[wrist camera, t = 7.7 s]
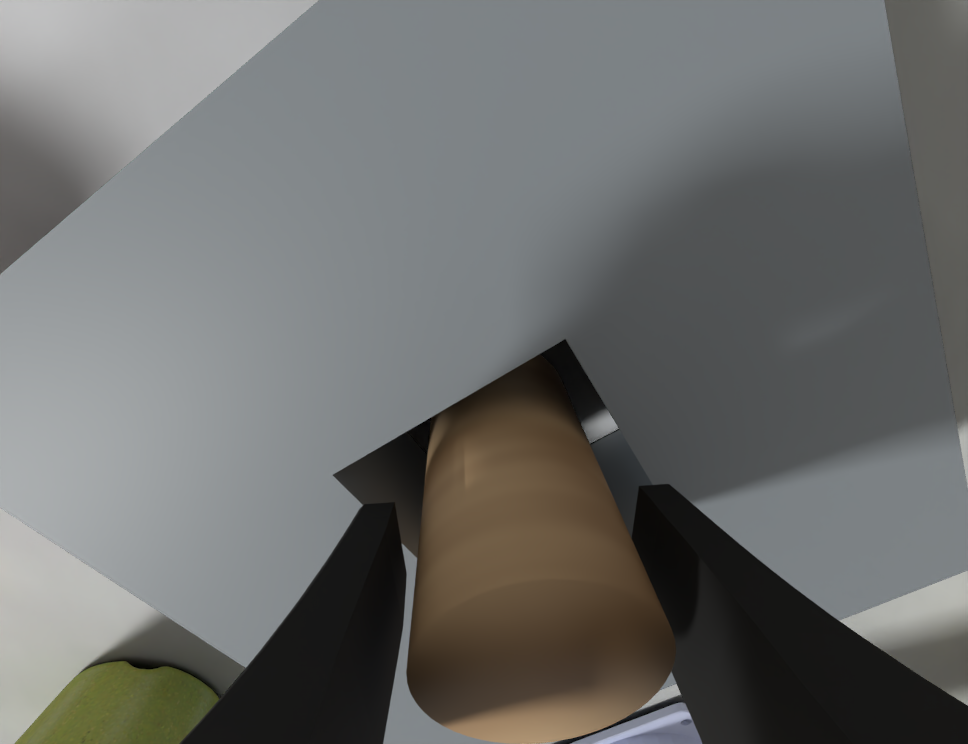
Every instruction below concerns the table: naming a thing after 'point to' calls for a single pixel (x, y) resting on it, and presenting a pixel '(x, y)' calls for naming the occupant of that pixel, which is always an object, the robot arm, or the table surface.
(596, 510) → the peg
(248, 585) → the socket block
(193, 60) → the table surface
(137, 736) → the plant pot
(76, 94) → the table surface
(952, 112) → the table surface
